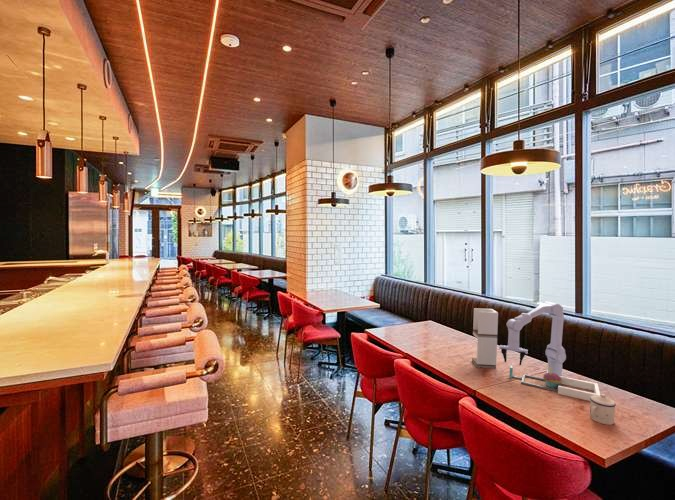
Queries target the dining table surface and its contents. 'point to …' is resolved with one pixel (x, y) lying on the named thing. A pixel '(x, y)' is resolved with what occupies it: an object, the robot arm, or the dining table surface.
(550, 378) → the cupcake
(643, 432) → the dining table surface
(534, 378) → the frame with teal handle
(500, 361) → the dining table surface
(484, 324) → the light grey tall block
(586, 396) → the white rectangular tray
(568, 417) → the dining table surface
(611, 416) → the teacup with lid
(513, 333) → the robot arm
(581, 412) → the dining table surface
